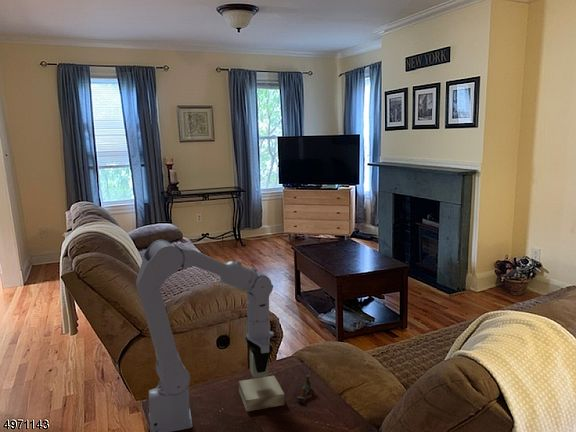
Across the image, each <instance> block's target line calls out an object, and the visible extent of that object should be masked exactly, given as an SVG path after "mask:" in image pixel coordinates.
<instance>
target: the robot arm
mask: <svg viewBox="0 0 576 432" xmlns="http://www.w3.org/2000/svg"><path fill="white" fill-rule="evenodd" d="M142 254H143V255H142V261H141V264H140V267H139V270H138V274H137V277H136V280H135V286H136V289H137V292H138V293H137V294H138V296H139V301H140V303H141V306H142V310H143V313H144V317H145V320H146V324H147V328H148V331H149V333H150V337H151V341H152V344H153V347H154V352H155V353H154V354H155V358H156V362H155V367H154V368H155V372H156V374H157V376H158V377H159V381H158V383H157V386H156V387H155V388H152V389H149V390H148V409H149V410H148V412H149V413H148V422H149V430H150V431H149V432H176V431H182V430H188V429H192V428H193V421H192V420H193V419H192V413H191V408H190V392H189V390H190V389H189V388H190V387H189V386H190V383H191V375H190V372H189V371H188V370H187V369H186V367H185V365H184V364H183V362H182V359H181V357H180V354H179V351H178V348H177V346H176V341H175V338H174V334H173V331H172V328H171V324H170V319H169V317H168V313H167V309H166V306H165V303H164V299H163V296H162V295H163V294H162V291H161V287H162V286H163V284H164V283H165V282H166V280H167V279H169V278H170V277H172V276H173V275H174V274H175V273H177V271H179V269H181V268H182V269H183V270H186V269H188V268H190V267H195V268H199V269H201V270H204V271H206V272H208V273H209V272H210V273H212V274H215V275H218V276H219V279H220V281H221V283H224V284H226V285H228V286H231V287H234V288H236V289H238V290H241V291H244V292H246V311H247V312H246V313H247V314H246V315H247V318H246V320H247V332H246V337H245V338H244V339H245V341H246V343H247V345H248V348H249V350H250V349H251V351H252V353H253V355H254V359H255V365H256V370H257V372H258V373H260V372H265V371H266V367H267V362H268V363H269V358H270V356H271V354H272V353H273V349H274V347H273V346H272V344H270V340H271V337H274V336H275V332H274V331H271V330H270V295H271V294H272V292H273V290H274V284H272V280H271V279H270V277H268V276H267V275H266V274H264V273H261V272H260V271H258V269H256V268H255V267H252V268H250V267H247V266H245V265H243V263H242V261H239V260H235V261H233V260H228V261H227V262H222V261H220V260H217V259H215V258H213V257H211V256H208V255H207V254H204V253H202V252H200V251H198V250H195V249H194V248H191V247H188V246H186V245H182V244H179V243H176V242H172V243H171V242H170V241H169V240H165V239H158V240H157V239H156V240H155V241H152V243H151V244H149V246H148V247H147V249H145V251H144V252H143V253H142Z"/></svg>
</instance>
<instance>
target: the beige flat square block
mask: <svg viewBox="0 0 576 432" xmlns="http://www.w3.org/2000/svg"><path fill="white" fill-rule="evenodd" d="M238 392H239V396H240V397H241V401H242V403H243V406H244V408H245V411H246V412H252V411H256V410H264V409H268V408H269V407H270V408H274V407H279V406H285V404H286V403H285V401H286V399H285V392H284V391H283V388H282V387H281V385H280V383H279V382H278V380H277V378H276V376H275V375H268V376H262V377H256V378H250V379H243V380H239V381H238ZM270 408H269V409H270Z"/></svg>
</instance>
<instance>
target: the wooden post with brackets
mask: <svg viewBox="0 0 576 432" xmlns="http://www.w3.org/2000/svg"><path fill="white" fill-rule="evenodd" d="M304 380H305V381H304V383H303V386H302V388H301V393H300V395H299V396H297V398H296V399H297V402H299V403H306V402H305V401H306V400H305V395H308V394H309V393H310V389H311V387H312V384H311V374H307V375H306V378H305V379H304Z"/></svg>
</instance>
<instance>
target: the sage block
mask: <svg viewBox="0 0 576 432" xmlns="http://www.w3.org/2000/svg"><path fill="white" fill-rule="evenodd" d="M249 371H250V374H251V375H252V379H255V378H262V377H268V376H269V361H268V362H267V367H266V371H265V372H260V373H258V372H257V370H256V365H255V359H254V355H253V353H252V351H251V349H250V348H249Z"/></svg>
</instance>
